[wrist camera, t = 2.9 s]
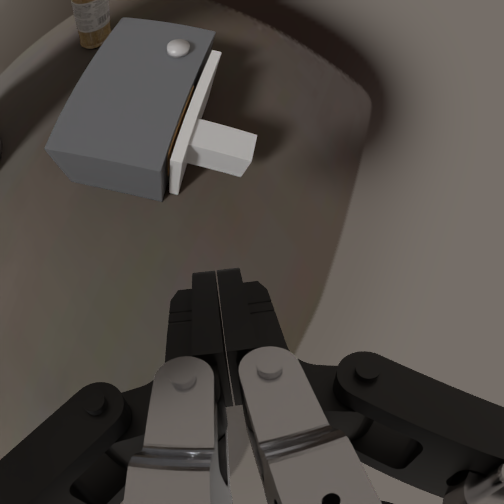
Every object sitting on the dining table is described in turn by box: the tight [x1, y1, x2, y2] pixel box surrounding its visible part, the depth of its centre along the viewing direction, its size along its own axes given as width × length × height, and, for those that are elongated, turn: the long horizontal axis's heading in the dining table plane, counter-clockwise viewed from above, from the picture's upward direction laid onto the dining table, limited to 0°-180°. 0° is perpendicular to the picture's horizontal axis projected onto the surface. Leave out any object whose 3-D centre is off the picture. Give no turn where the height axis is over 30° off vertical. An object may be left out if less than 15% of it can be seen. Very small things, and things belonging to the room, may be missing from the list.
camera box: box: [44, 17, 216, 202], centre depth 23 cm, size 10×17×9 cm, turn 168°
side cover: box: [169, 50, 257, 195], centre depth 25 cm, size 6×12×8 cm, turn 168°
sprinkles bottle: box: [71, 0, 112, 49], centre depth 20 cm, size 5×5×14 cm
